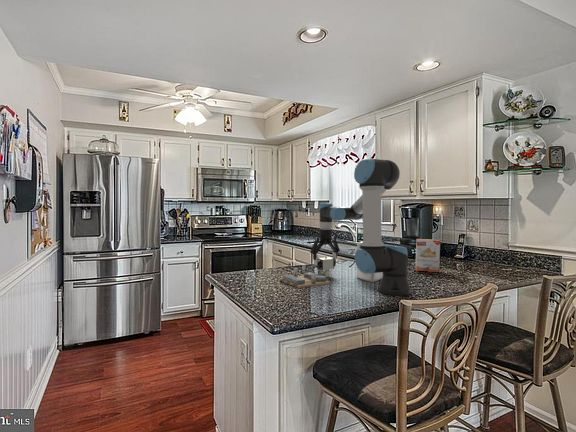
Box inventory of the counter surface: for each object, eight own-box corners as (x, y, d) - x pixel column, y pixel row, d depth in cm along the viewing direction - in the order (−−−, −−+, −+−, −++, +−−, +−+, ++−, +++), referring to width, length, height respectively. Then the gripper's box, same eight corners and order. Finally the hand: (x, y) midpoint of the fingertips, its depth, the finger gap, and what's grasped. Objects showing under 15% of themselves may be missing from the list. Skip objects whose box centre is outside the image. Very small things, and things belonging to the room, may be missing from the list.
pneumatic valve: (335, 276, 205) (336, 256, 205) (319, 278, 200) (319, 257, 199) (330, 274, 210) (330, 255, 210) (314, 276, 205) (314, 256, 204)
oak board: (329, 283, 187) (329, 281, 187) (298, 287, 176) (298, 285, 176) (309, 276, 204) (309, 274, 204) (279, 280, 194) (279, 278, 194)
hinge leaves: (329, 281, 186) (329, 272, 186) (299, 285, 176) (299, 276, 176) (308, 274, 204) (308, 266, 204) (280, 278, 194) (280, 269, 194)
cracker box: (416, 271, 221) (416, 239, 220) (415, 270, 227) (416, 238, 226) (439, 273, 217) (440, 240, 216) (438, 271, 223) (439, 239, 222)
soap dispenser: (374, 282, 189) (374, 243, 188) (350, 279, 198) (351, 241, 197) (384, 278, 201) (385, 240, 201) (362, 275, 210) (362, 239, 209)
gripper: (338, 227, 214) (337, 261, 215) (304, 229, 201) (304, 265, 202) (346, 228, 207) (345, 263, 208) (312, 230, 194) (311, 267, 195)
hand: (325, 264), depth 205 cm, fingers open, 13 cm apart
